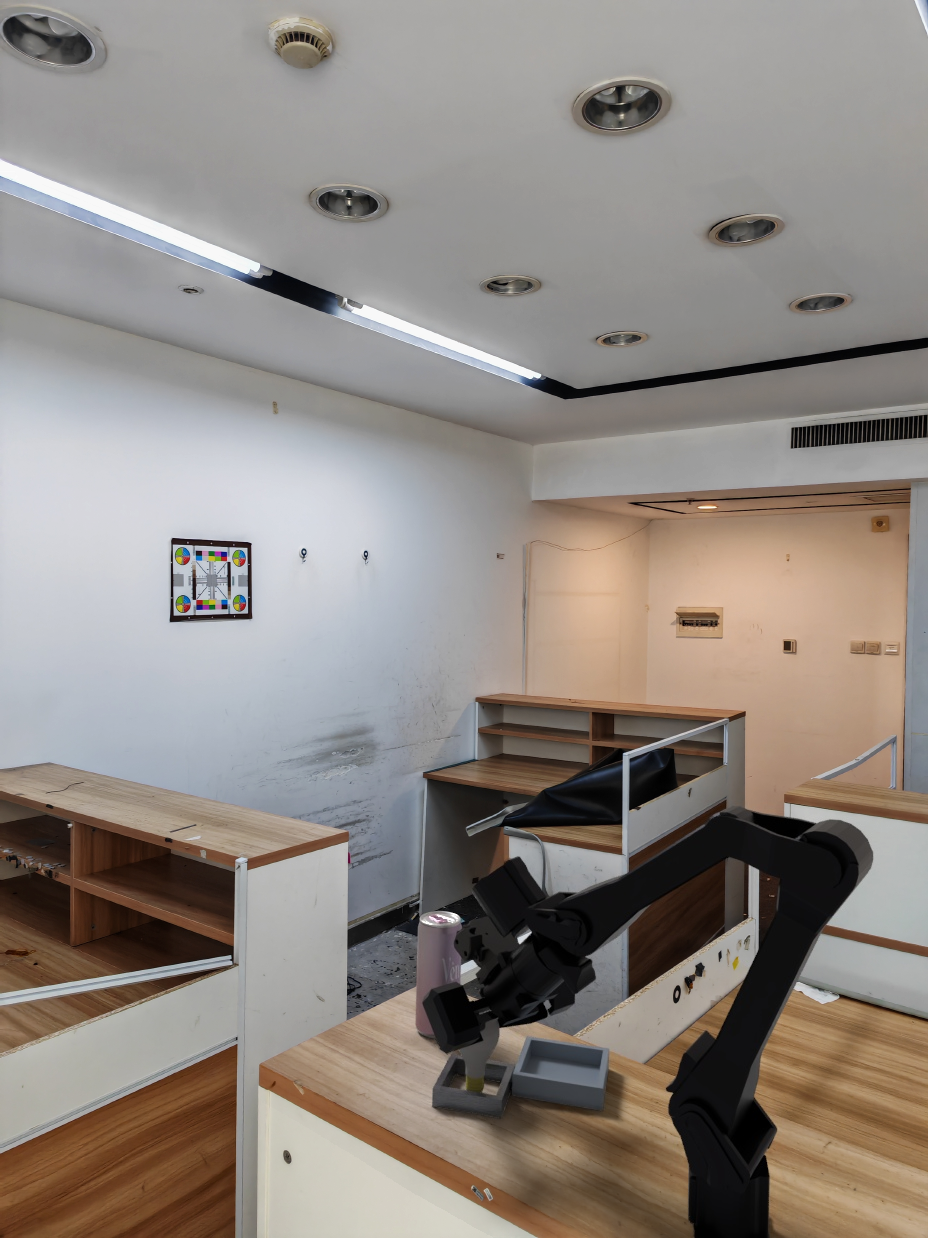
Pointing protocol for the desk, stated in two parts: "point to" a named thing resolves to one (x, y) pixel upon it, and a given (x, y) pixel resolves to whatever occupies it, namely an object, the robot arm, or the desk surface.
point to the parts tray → (562, 1073)
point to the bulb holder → (469, 1099)
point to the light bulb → (480, 1056)
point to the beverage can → (435, 960)
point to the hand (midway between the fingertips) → (468, 1031)
